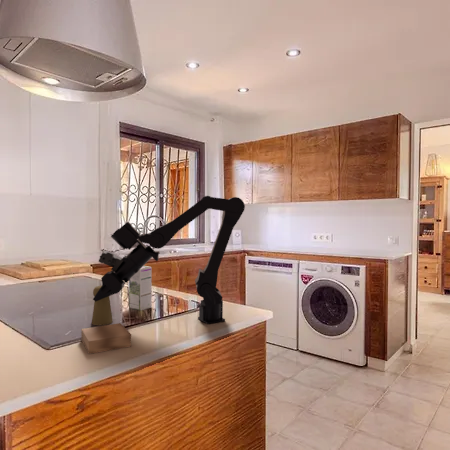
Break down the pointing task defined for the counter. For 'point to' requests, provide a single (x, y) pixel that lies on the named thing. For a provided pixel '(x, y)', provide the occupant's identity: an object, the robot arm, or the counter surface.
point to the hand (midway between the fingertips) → (97, 297)
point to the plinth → (105, 338)
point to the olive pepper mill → (101, 310)
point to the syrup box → (141, 289)
